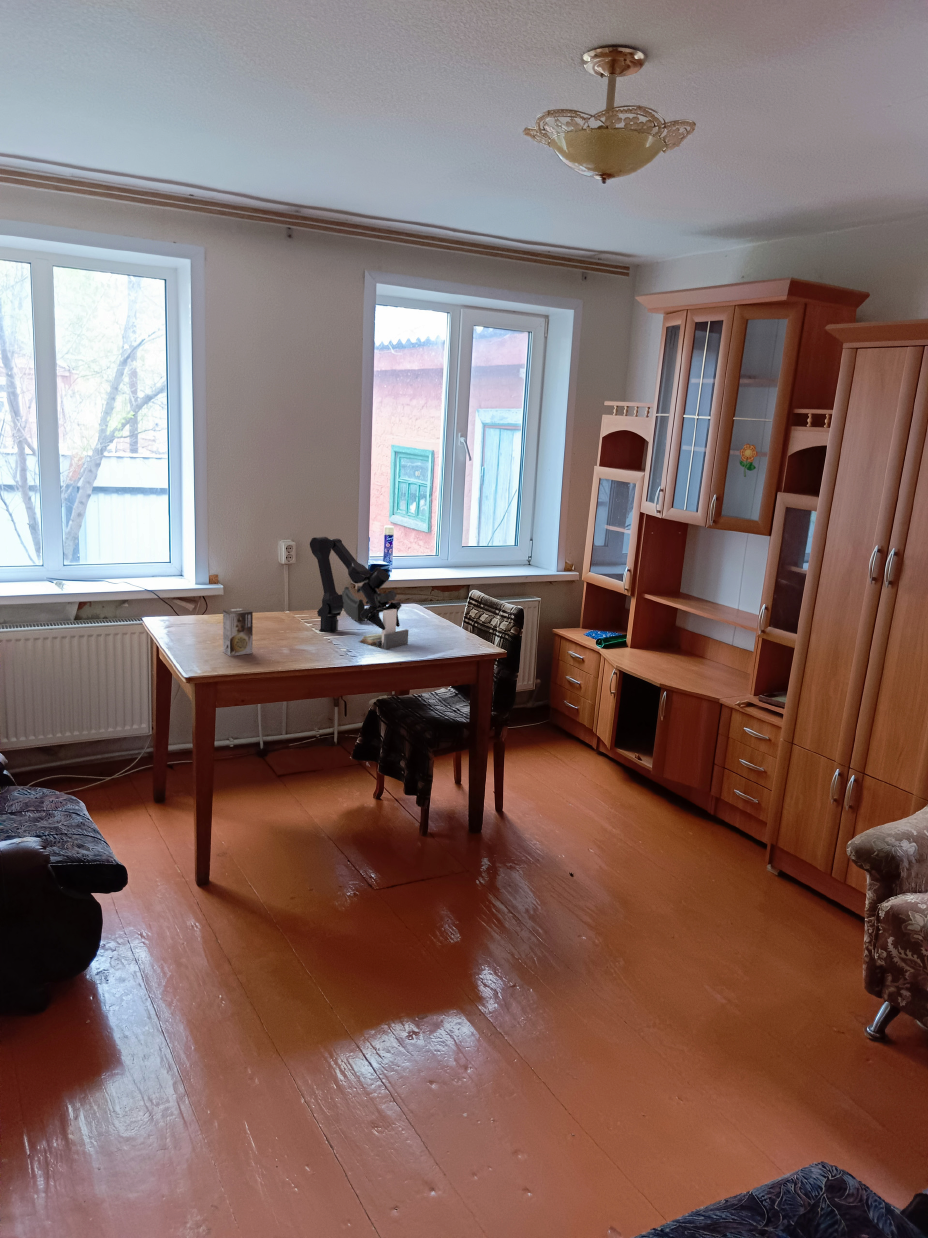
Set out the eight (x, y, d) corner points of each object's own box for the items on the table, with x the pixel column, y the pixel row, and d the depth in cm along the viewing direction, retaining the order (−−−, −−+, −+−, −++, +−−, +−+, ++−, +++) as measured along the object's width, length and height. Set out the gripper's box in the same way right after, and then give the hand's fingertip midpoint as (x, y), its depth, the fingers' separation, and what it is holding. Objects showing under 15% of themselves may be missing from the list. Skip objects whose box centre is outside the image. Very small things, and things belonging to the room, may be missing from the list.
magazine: (367, 605, 376) (350, 572, 400) (360, 605, 375) (343, 573, 399) (362, 639, 384) (346, 605, 408) (355, 639, 383) (339, 605, 407)
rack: (357, 644, 347) (358, 627, 345) (379, 639, 357) (380, 622, 356) (385, 652, 338) (386, 634, 337) (407, 646, 349) (408, 629, 347)
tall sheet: (381, 645, 344) (383, 610, 341) (391, 643, 349) (393, 608, 346) (384, 646, 343) (386, 611, 340) (394, 643, 348) (396, 609, 345)
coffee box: (245, 649, 328) (246, 607, 325) (252, 653, 323) (253, 611, 320) (222, 652, 323) (222, 609, 319) (229, 656, 318) (230, 613, 314)
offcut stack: (359, 641, 347) (360, 636, 347) (378, 637, 356) (378, 632, 356) (370, 644, 344) (371, 639, 343) (389, 640, 353) (389, 635, 352)
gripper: (367, 586, 335) (387, 620, 332) (399, 581, 350) (419, 613, 346) (351, 602, 342) (371, 635, 338) (383, 597, 356) (402, 628, 353)
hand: (391, 628), depth 343 cm, fingers open, 8 cm apart
